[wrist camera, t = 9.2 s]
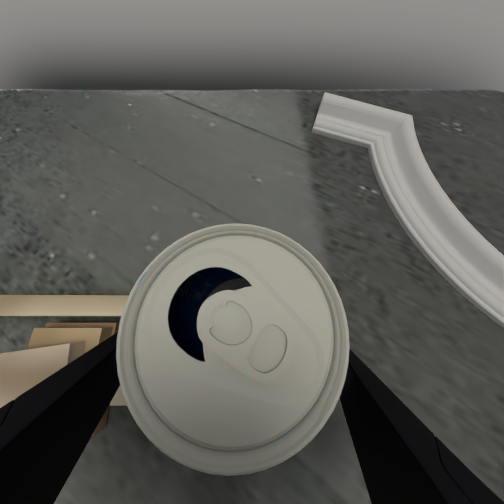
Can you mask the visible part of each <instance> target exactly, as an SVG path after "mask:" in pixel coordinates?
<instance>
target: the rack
mask: <svg viewBox="0 0 504 504" xmlns="http://www.w3.org/2000/svg"><path fill="white" fill-rule="evenodd" d="M128 297H129V296H125V295H0V316H122V313H123V309H124V306H125V304H126V301H127V299H128ZM110 406H127V404H126V401H125V399H124V396H123V394H122V390H121V386H119V388H118V390H117V392H116V394H115V395H114V397H113V399H112V401H111V402H110Z"/></svg>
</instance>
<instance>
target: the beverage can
mask: <svg viewBox="0 0 504 504" xmlns="http://www.w3.org/2000/svg"><path fill="white" fill-rule="evenodd" d="M116 360H117V371H118V377H119V382H120V386H121V390H122V394H123V396H124V399H125V401H126V404H127V407H128V409H129V411H130V413H131V415H132V416H133V418H134V420H135V422H136V424H137V425H138V426H139V428H140V429H141V430H142V432H143V433H144V434H145V436H146V437H147V438H148V439H149V440H150V441H151V442H152V443H153V444H154V445H155V446H156V447H157V448H158V449H159V450H160V451H161V452H163V453H164V454H166V455H167V456H169V457H170V458H172V459H173V460H174V461H176V462H178V463H180V464H182V465H184V466H186V467H189V468H191V469H193V470H197V471H200V472H204V473H208V474H213V475H223V476H236V475H248V474H252V473H256V472H260V471H264V470H267V469H269V468H271V467H274V466H276V465H278V464H280V463H283V462H284V461H286V460H287V459H289V458H290V457H292V456H294V455H295V454H297V453H298V452H299V451H300V450H301V449H303V448H304V447H305V446H306V445H307V444H308V443H309V442H311V441H312V440H313V438H314V437H315V436H316V435H317V434H318V433H319V431H320V430H321V429H322V428H323V427H324V425H325V423H326V422H327V420H328V419H329V417H330V416H331V414H332V412H333V410H334V408H335V406H336V404H337V402H338V400H339V398H340V395H341V392H342V389H343V386H344V382H345V379H346V374H347V368H348V363H349V330H348V325H347V319H346V314H345V311H344V307H343V304H342V301H341V298H340V296H339V294H338V292H337V289H336V287H335V285H334V283H333V282H332V280H331V278H330V277H329V275H328V273H327V272H326V271H325V269H324V268H323V267H322V265H321V264H320V263H319V262H318V261H317V260H316V259H315V258H314V257H313V255H312V254H311V253H309V252H308V251H307V250H306V249H305V248H303V247H302V246H301V245H300V244H298V243H297V242H295V241H294V240H292V239H291V238H289V237H287V236H285V235H283V234H281V233H279V232H276V231H273V230H271V229H268V228H265V227H260V226H256V225H249V224H223V225H215V226H211V227H207V228H203V229H201V230H198V231H195V232H193V233H190V234H188V235H186V236H184V237H183V238H181V239H179V240H177V241H176V242H174V243H173V244H171V245H170V246H168V247H167V248H166V249H165V250H163V251H162V252H161V253H160V254H159V255H158V256H156V258H155V259H154V260H153V261H152V262H151V263H150V264H149V265H148V266H147V267H146V269H145V270H144V271H143V273H142V274H141V276H140V277H139V278H138V280H137V282H136V283H135V285H134V287H133V289H132V290H131V292H130V294H129V297H128V299H127V301H126V304H125V306H124V309H123V313H122V316H121V320H120V323H119V329H118V335H117V349H116Z"/></svg>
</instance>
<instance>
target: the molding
mask: <svg viewBox="0 0 504 504" xmlns="http://www.w3.org/2000/svg"><path fill="white" fill-rule="evenodd" d="M312 133H315V134H319V135H322V136H326V137H330V138H333V139H337V140H340V141H344V142H348V143H351V144H355V145H358V146H362V147H365V148H368V152H369V156H370V160H371V164H372V167H373V170H374V173H375V176H376V179H377V181H378V184H379V186H380V188H381V191H382V193H383V195H384V197H385V199H386V201H387V203H388V205H389V206H390V208H391V210H392V212H393V213H394V215H395V217H396V218H397V220H398V221H399V223H400V225H401V226H402V228H403V229H404V230H405V232H406V233H407V235H408V236H409V237H410V239H411V240H412V241H413V243H414V244H415V245H416V247H417V248H418V249H419V250H420V251H421V253H422V254H423V255H424V256H425V257H426V259H427V260H428V261H429V262H430V263H431V264H432V265H433V266H434V268H435V269H436V270H437V271H438V272H439V273H440V274H441V275H442V276H443V277H444V278H445V279H446V280H447V281H448V282H449V283H450V284H451V285H452V286H453V287H454V288H455V289H456V290H457V291H459V292H460V293H461V294H462V295H463V296H464V297H465V298H466V299H467V300H469V301H470V302H471V303H472V304H473V305H475V306H476V307H477V308H478V309H479V310H481V311H482V312H483V313H484V314H486V315H487V316H488V317H490V318H491V319H492V320H493V321H495V322H496V323H498V324H499V325H500V326H502V327H503V328H504V255H502V254H501V253H500V252H499V251H498V250H497V249H496V248H494V247H493V246H492V245H491V244H490V243H489V242H488V241H487V240H486V239H485V238H484V237H483V236H482V235H481V234H480V233H479V232H478V231H477V230H476V229H475V228H474V227H473V226H472V225H471V224H470V223H469V222H468V221H467V220H466V218H465V217H464V216H463V215H462V214H461V213H460V212H459V210H458V209H457V208H456V207H455V205H454V204H453V203H452V202H451V200H450V199H449V198H448V196H447V195H446V194H445V192H444V191H443V189H442V188H441V186H440V185H439V183H438V182H437V180H436V179H435V177H434V175H433V174H432V172H431V170H430V168H429V166H428V164H427V163H426V160H425V158H424V156H423V154H422V151H421V149H420V146H419V144H418V141H417V137H416V134H415V130H414V121H413V118H412V115H408V114H405V113H401V112H397V111H393V110H390V109H386V108H382V107H378V106H375V105H371V104H367V103H363V102H360V101H356V100H352V99H349V98H345V97H341V96H337V95H334V94H330V93H326V92H325V93H324V95H323V97H322V100H321V103H320V106H319V109H318V113H317V116H316V119H315V123H314V126H313V129H312Z"/></svg>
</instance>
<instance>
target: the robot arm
mask: <svg viewBox="0 0 504 504" xmlns="http://www.w3.org/2000/svg"><path fill="white" fill-rule="evenodd" d="M117 335H118V332H117V333H115V334H114V335H112V336H110V337H109V338H107V339H106V340H104V341H103V342H101V343H100V344H98V345H97V346H95V347H94V348H92V349H90V350H89V351H87V352H86V353H84V354H83V355H81V356H80V357H78V358H77V359H75V360H74V361H72V362H70V363H69V364H67V365H66V366H64V367H63V368H61V369H60V370H58V371H57V372H55V373H54V374H52V375H50V376H49V377H47V378H46V379H44V380H43V381H41V382H40V383H38V384H37V385H35V386H33V387H32V388H30V389H29V390H27V391H26V392H24V393H23V394H21V395H20V396H18V397H17V398H16V399H15V400H12V401H10V402H9V403H7V404H6V405H4V406H3V407H1V408H0V504H54V502H55V500H56V498H57V497H58V495H59V493H60V491H61V489H62V488H63V486H64V484H65V482H66V481H67V479H68V477H69V475H70V473H71V472H72V470H73V468H74V466H75V465H76V463H77V461H78V459H79V458H80V456H81V454H82V452H83V450H84V449H85V447H86V445H87V443H88V442H89V440H90V438H91V436H92V434H93V433H94V431H95V429H96V427H97V426H98V424H99V422H100V420H101V418H102V417H103V415H104V413H105V411H106V410H107V408H108V406H109V404H110V402H111V401H112V399H113V397H114V395H115V394H116V392H117V390H118V388H119V386H120V382H119V377H118V371H117V360H116V349H117ZM340 400H341V404H342V408H343V411H344V414H345V417H346V421H347V424H348V427H349V431H350V434H351V437H352V440H353V444H354V447H355V450H356V454H357V457H358V460H359V463H360V467H361V470H362V473H363V477H364V480H365V483H366V486H367V490H368V493H369V496H370V499H371V503H372V504H504V502H503V501H502V500H501V499H500V498H499V497H498V496H497V495H496V494H495V493H494V492H492V491H491V490H490V489H489V488H488V487H487V486H486V485H485V484H484V483H483V482H482V481H481V480H480V479H479V478H478V477H477V476H476V475H474V474H473V473H472V472H471V471H470V470H469V469H468V468H467V467H466V466H465V465H464V464H463V463H462V462H461V461H460V460H459V459H458V458H457V457H456V456H455V455H454V454H453V453H452V452H451V451H450V450H449V449H448V448H447V447H446V446H445V445H444V444H443V443H442V442H441V441H440V440H439V439H438V438H437V437H435V436H434V434H433V433H432V432H431V431H430V430H429V429H428V428H427V427H426V426H425V425H424V424H423V423H422V422H421V421H420V420H419V419H418V418H417V417H416V416H415V415H414V414H413V413H412V412H411V410H410V409H409V408H408V407H407V406H406V405H405V404H404V403H403V402H402V401H401V400H400V399H399V398H398V397H397V396H396V395H395V394H394V393H393V392H392V391H391V390H390V389H389V388H388V387H387V386H386V385H385V384H384V383H383V382H382V381H381V380H380V379H379V378H378V377H377V376H376V375H375V374H374V373H373V372H372V371H371V370H370V369H369V368H368V367H367V366H366V365H365V364H364V363H363V362H362V361H361V360H360V359H359V358H358V357H357V356H356V355H355V354H354V353H353V352H352V351H351V350H350V349H349V363H348V368H347V374H346V379H345V382H344V386H343V389H342V392H341V395H340Z"/></svg>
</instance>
